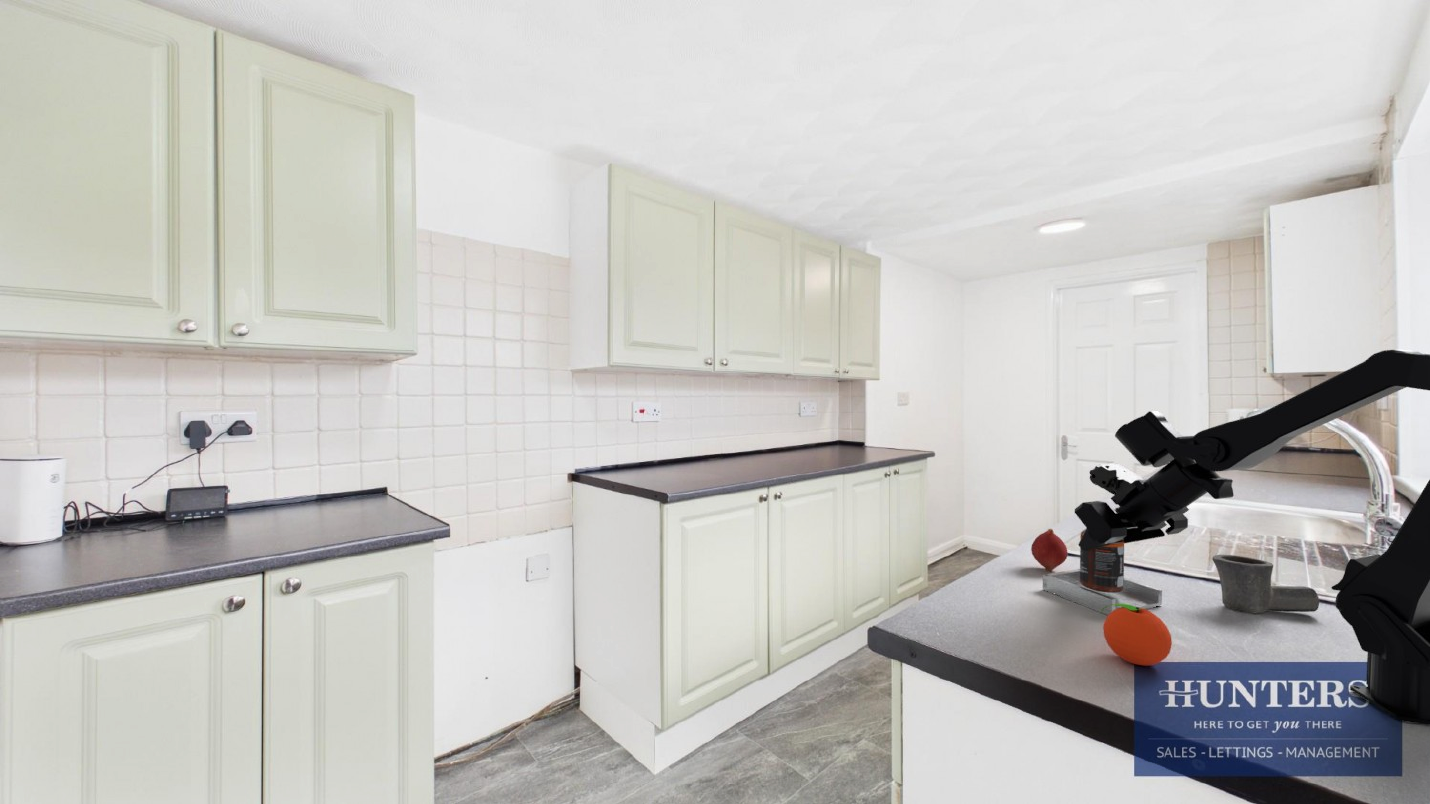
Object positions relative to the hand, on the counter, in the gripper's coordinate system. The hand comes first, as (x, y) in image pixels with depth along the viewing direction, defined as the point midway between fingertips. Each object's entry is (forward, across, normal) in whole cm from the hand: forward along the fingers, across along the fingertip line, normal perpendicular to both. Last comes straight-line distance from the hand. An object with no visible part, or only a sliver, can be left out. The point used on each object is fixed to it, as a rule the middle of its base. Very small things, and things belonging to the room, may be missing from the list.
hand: (1094, 545), depth 92 cm
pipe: (-3, -19, +16) cm, 24 cm away
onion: (+14, -4, -2) cm, 15 cm away
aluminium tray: (+5, 0, +7) cm, 8 cm away
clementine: (-6, +17, +18) cm, 25 cm away
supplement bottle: (+4, 0, +6) cm, 7 cm away
